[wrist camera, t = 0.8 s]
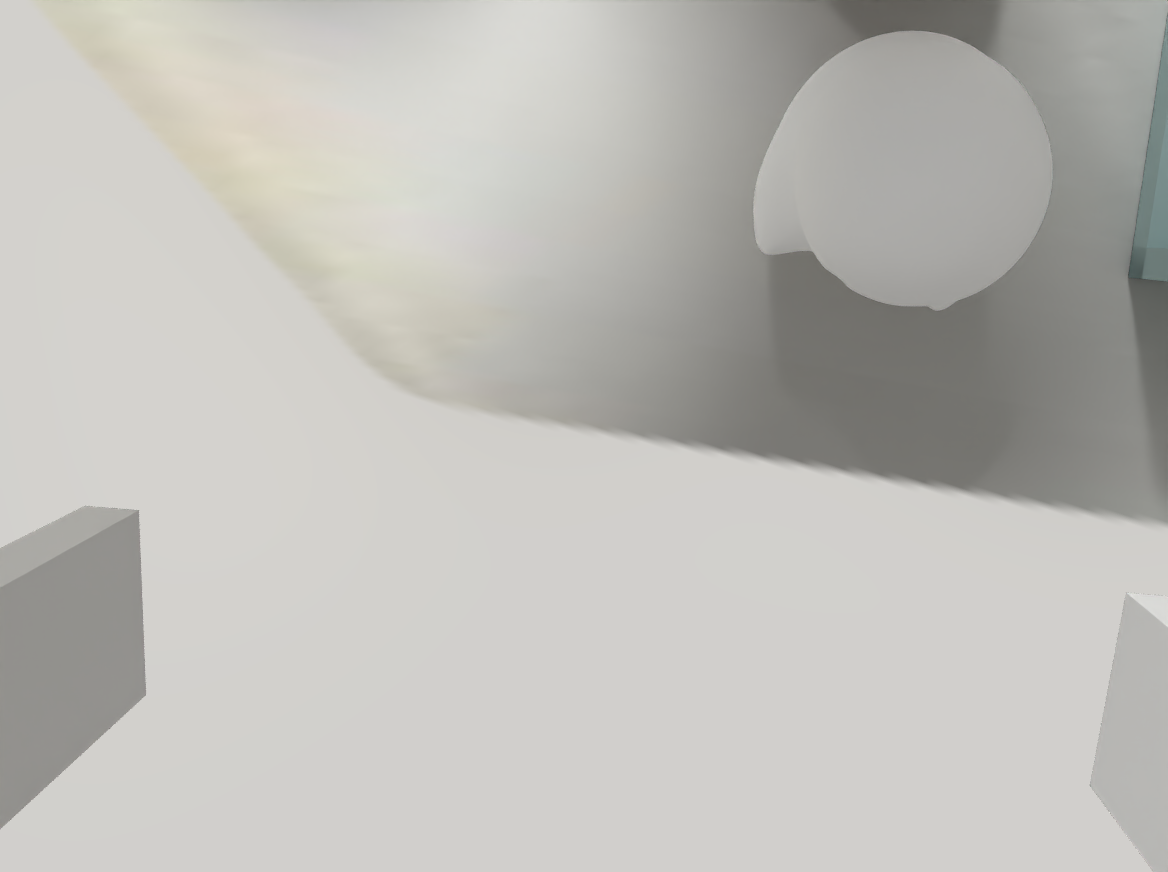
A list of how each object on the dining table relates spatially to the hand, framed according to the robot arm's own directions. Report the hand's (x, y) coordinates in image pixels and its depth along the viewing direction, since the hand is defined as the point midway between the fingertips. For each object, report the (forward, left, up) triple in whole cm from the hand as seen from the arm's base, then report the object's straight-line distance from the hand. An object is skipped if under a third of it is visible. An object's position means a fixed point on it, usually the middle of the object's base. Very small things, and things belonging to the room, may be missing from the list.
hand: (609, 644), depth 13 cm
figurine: (-8, +7, -23) cm, 25 cm away
